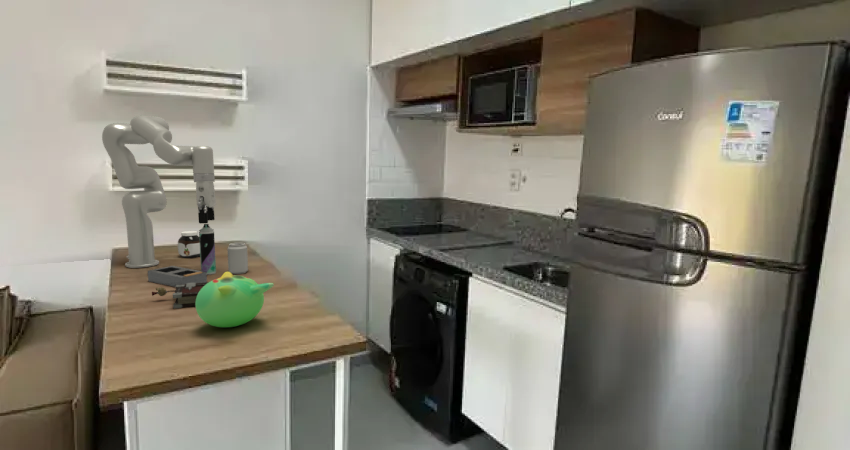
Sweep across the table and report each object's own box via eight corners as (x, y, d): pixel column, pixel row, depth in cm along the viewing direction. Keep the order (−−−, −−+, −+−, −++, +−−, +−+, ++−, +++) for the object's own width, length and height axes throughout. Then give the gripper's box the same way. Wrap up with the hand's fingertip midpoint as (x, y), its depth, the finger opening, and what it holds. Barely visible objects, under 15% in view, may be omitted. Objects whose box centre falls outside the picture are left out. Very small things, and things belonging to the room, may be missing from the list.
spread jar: (175, 257, 227) (174, 232, 225) (193, 253, 238) (192, 229, 236) (197, 259, 223) (195, 234, 222) (214, 254, 234) (213, 230, 232)
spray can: (205, 275, 194) (203, 225, 191) (198, 273, 197) (195, 223, 194) (218, 272, 198) (216, 223, 195) (211, 270, 202) (209, 222, 199)
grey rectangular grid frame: (148, 281, 184) (147, 270, 184) (173, 275, 193) (172, 265, 192) (182, 288, 175) (181, 276, 174) (207, 282, 183) (206, 271, 183)
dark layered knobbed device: (235, 304, 159) (235, 289, 158) (147, 312, 149) (146, 296, 149) (234, 292, 172) (234, 278, 171) (154, 299, 163) (153, 284, 162)
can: (251, 270, 203) (250, 241, 201) (243, 274, 195) (241, 245, 194) (234, 270, 204) (232, 241, 202) (224, 274, 196) (223, 244, 195)
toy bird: (245, 311, 150) (243, 264, 148) (278, 323, 140) (276, 273, 138) (186, 326, 136) (183, 275, 134) (217, 341, 126) (214, 285, 124)
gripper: (208, 179, 185) (211, 224, 187) (219, 177, 201) (222, 218, 204) (187, 179, 183) (190, 224, 186) (200, 177, 200) (203, 219, 203)
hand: (207, 221), depth 195 cm, fingers open, 9 cm apart
